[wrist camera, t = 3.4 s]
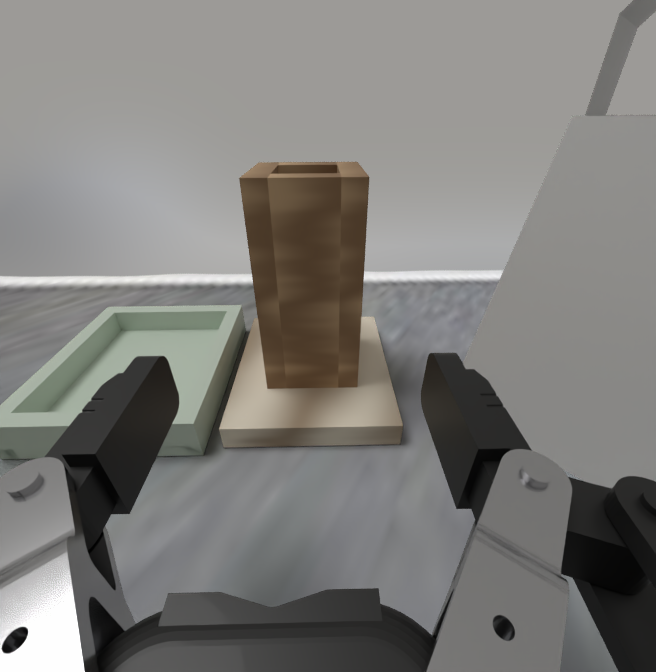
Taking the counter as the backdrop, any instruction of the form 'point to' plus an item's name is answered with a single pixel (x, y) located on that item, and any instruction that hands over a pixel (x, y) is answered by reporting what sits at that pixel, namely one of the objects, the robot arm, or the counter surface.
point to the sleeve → (307, 269)
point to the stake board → (312, 404)
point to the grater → (585, 294)
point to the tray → (114, 357)
